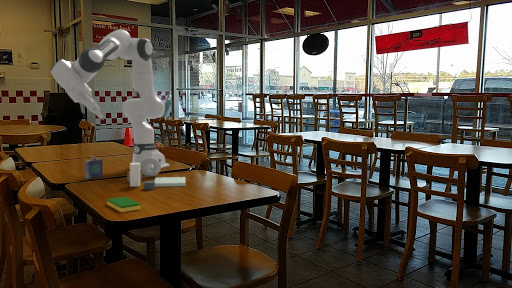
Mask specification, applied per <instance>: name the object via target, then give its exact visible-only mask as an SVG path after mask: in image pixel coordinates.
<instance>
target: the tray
mask: <svg viewBox="0 0 512 288" xmlns="http://www.w3.org/2000/svg"><path fill="white" fill-rule="evenodd" d="M154 182H155V188H157V187H186V176H182V177H181V176H180V177H179V176H177V177H176V176H174V177H173V176H172V177H171V176H169V177H167V176H166V177H163V176H162V177H155V179H154Z"/></svg>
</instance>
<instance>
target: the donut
mask: <svg viewBox="0 0 512 288" xmlns="http://www.w3.org/2000/svg"><path fill="white" fill-rule="evenodd" d="M149 164H153V165H154V168H153V169H148V168H147V166H148V165H149ZM140 168H141V171H142V175H144V176H145V177H150V178H151V177H155V176H157V175H158V174H159V173H160V171H161V169H162V168H161V165H160V162H159V160H157V159H156V158H154V157H148V158H146V159H144V160H143V161H142V163H141V167H140Z"/></svg>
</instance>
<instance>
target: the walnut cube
mask: <svg viewBox="0 0 512 288" xmlns="http://www.w3.org/2000/svg"><path fill="white" fill-rule="evenodd" d="M126 175H127V176H126V177H127V179H126V181H127V183H130V170H129V171H127V173H126ZM140 182H143V173H142V171H141V170H140Z"/></svg>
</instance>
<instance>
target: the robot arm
mask: <svg viewBox="0 0 512 288" xmlns="http://www.w3.org/2000/svg"><path fill="white" fill-rule="evenodd" d="M153 51H154V46H153V44H152V42H151V40H150V39H148V38H146V37H145V38H144V37H141V38H140V37H139V38H138V37H137V38H136V37H131V35H130V33H129V32H128V31H127V30H124V29H116V30H114V31H112V32H110V33H108V34H107V35H105V36H104V37H103V38H102V39H101V40H100V41H99V43H98V45H97V46H95V47H90V48H86V49H83V50H82V51H81V53H80V54H79V57H78V58H77V59H76V60H75V61H67V60H65V59H63V58H61V59H59V60H57V61H56V62H55V63H54V64H53V65H52V67H51V68H50V74H51V75H52V76H51V77H53V78H54V80H55V82H57V84H58V85H59V86H61V88H63V89H64V90H65V92H66V94H67V95H68V96H69V98H70V99H71V100H72V101H73V102H74V103H79V104H83V106H85V107H86V109H87V110H88V111H90V112H92V113H93V114H94V115H96V116H97V117H98V118H99V119H101V120H102V121H103V120H104V119H105V118H106V117H105V116H104V114H103V113H102V111H101V107H100V105H99V104H98V103H97V101H96V100H95V98H94V97H93V94H92V92H93V90H92V89H91V87H90V86H89V85H88V83H89V82H90V81H91V80H92V79H93V78H94V77H95V75H96V74H97V73H98V72H99V71H100V70H102V69H103V67H104V66H105V64H106V63H105V62H106V59H107V60H109V61H114V60H116V59H118V60H122V61H124V60H126V61H127V60H128V61H129V60H130V61H132V63H131V66H132V68H131V80H132V81H131V82H132V84H131V85H132V88H133V89H134V91H136V92H137V93H138V95H139V97H140V98H130V99H126V100H125V101H124V102H123V103H122V107H121V108H122V112H123V115H124V116H126V118H128V120H129V121H130V123H131V124H130V125H131V126H132V132H133V144H132V151H133V154H132V162H131V163H140V167H141V163H142V161H143V160H144V159H146V158H148V157H154V158H156V159H157V160H159V162H160V165H161V168H160V169H163V168H167V167H169V166H170V164H169V163H166V157H165V155H164V154H163V153H162V152H160V151H159V150H158V149H157V148H159V147H160V143H157V142H156V143H155V129H154V127H152V126H151V125H150V124H149V123H148V119H150V120H151V119H153V120H155V119H157V118H158V119H159V118H162V117H163V116H164V114H165V111H166V105H165V104H164V102H163V101H162V100H161V99H160V98H159V97H158V95H157V93H156V90H155V87H154V86H155V85H154V73H153V72H154V70H153V69H154V68H153V64H152V55H153V53H154V52H153ZM147 168H148V169H149V170H153V168H154V165H153V164H149V165H148V166H147ZM140 170H141V168H140Z"/></svg>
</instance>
